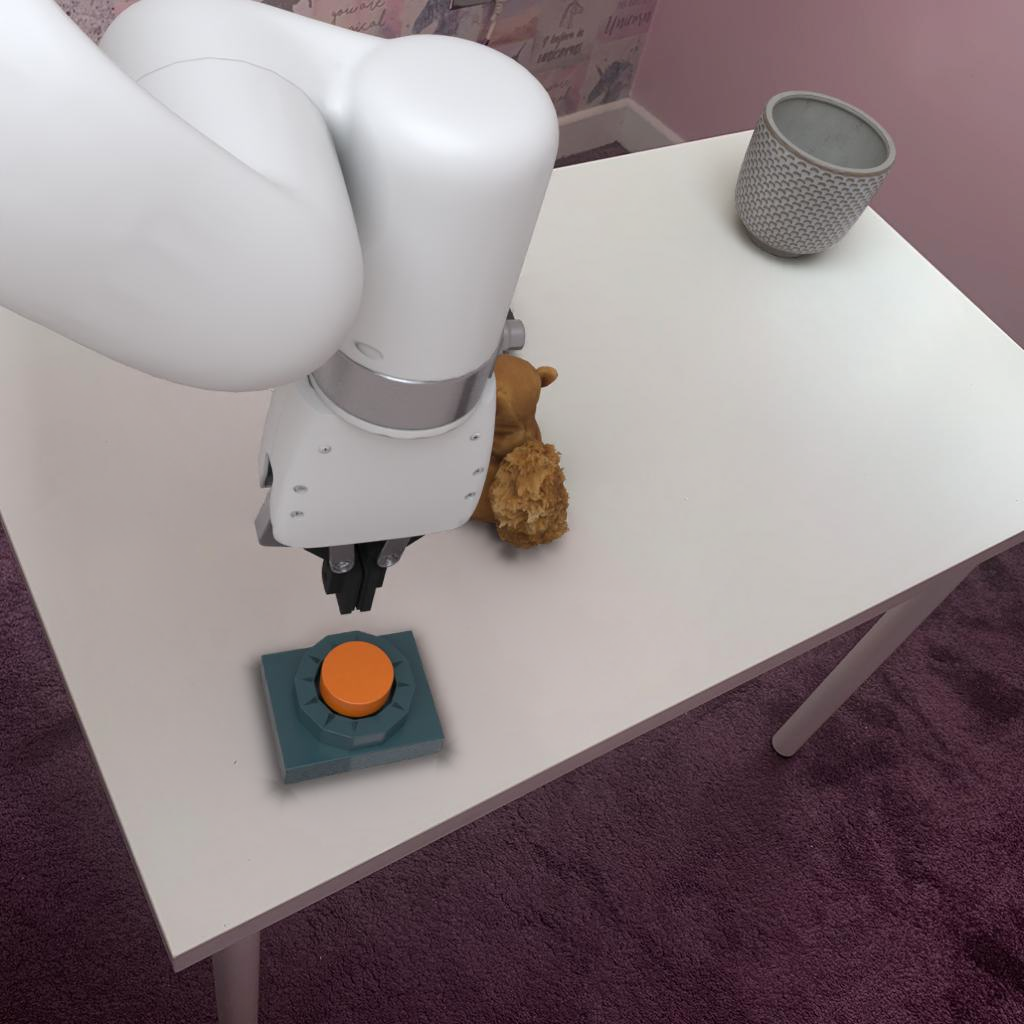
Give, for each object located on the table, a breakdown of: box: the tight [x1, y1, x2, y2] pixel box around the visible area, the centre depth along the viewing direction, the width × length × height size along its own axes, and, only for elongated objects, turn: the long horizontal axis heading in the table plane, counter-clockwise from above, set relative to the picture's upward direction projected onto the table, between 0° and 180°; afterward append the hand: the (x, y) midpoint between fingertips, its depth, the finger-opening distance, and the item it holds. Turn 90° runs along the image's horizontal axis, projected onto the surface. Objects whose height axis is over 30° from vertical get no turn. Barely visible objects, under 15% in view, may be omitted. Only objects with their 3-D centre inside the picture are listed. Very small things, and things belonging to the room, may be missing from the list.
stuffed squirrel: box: [469, 353, 570, 550], centre depth 77 cm, size 10×14×13 cm
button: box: [319, 641, 394, 717], centre depth 65 cm, size 4×4×2 cm
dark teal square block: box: [259, 629, 445, 786], centre depth 67 cm, size 10×8×4 cm
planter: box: [734, 90, 897, 259], centre depth 108 cm, size 14×14×13 cm
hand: (349, 590), depth 58 cm, fingers closed
